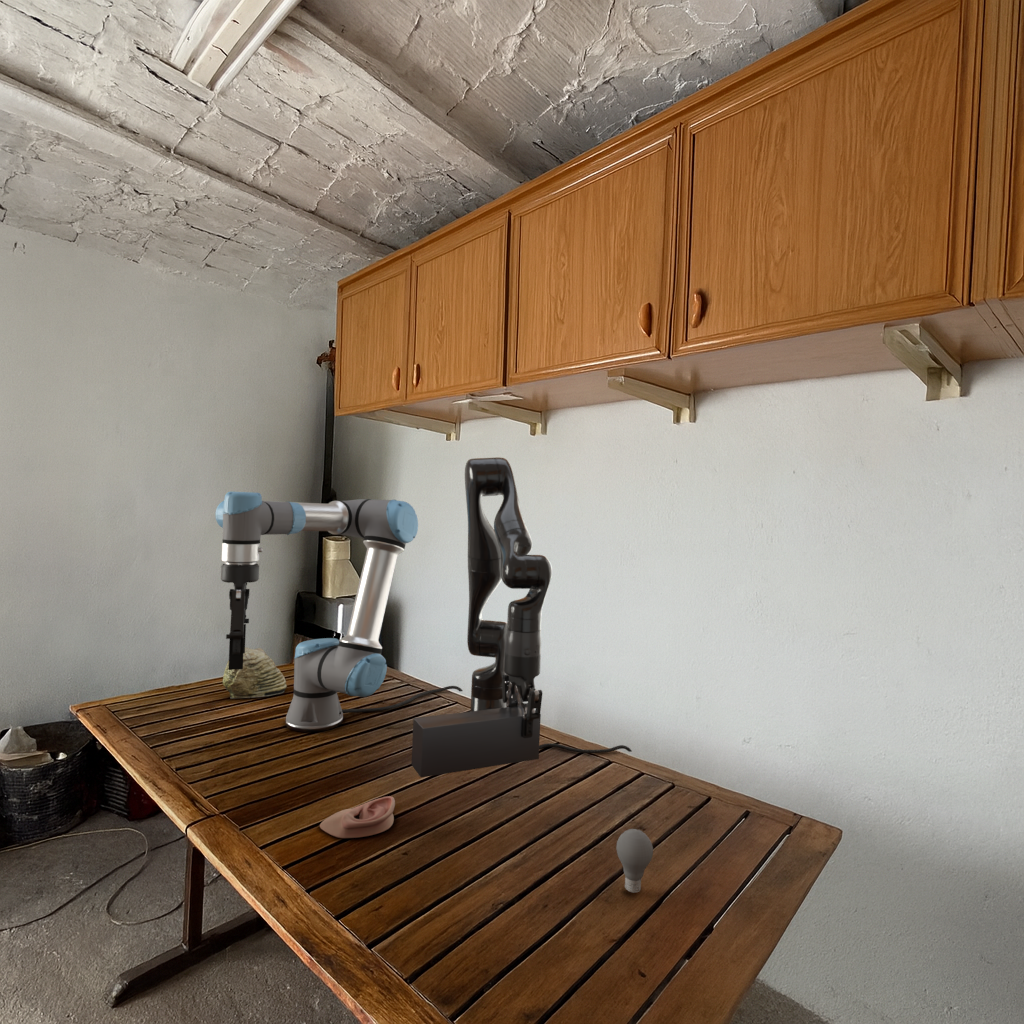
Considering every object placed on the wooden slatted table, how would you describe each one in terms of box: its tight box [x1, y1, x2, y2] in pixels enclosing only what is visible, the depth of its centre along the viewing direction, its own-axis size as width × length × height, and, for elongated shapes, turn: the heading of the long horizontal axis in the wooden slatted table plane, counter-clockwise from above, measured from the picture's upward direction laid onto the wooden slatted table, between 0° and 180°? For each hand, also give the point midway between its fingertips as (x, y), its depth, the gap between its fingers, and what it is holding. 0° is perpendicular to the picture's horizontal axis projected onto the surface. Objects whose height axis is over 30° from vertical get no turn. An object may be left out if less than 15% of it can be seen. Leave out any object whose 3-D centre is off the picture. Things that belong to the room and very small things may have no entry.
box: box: [410, 706, 542, 779], centre depth 127 cm, size 25×6×9 cm, turn 116°
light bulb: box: [615, 828, 654, 894], centre depth 106 cm, size 6×6×10 cm
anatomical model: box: [319, 795, 396, 839], centre depth 123 cm, size 13×4×12 cm
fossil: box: [222, 646, 288, 699], centre depth 198 cm, size 9×18×15 cm, turn 132°
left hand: (237, 661), depth 137 cm, fingers open, 13 cm apart
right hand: (519, 731), depth 131 cm, fingers closed on box, 6 cm apart
